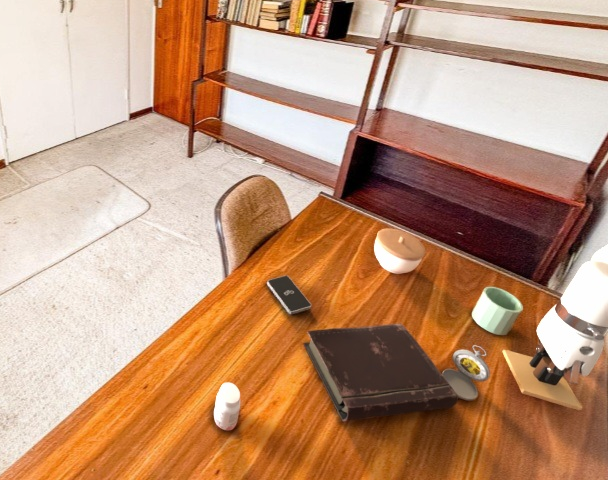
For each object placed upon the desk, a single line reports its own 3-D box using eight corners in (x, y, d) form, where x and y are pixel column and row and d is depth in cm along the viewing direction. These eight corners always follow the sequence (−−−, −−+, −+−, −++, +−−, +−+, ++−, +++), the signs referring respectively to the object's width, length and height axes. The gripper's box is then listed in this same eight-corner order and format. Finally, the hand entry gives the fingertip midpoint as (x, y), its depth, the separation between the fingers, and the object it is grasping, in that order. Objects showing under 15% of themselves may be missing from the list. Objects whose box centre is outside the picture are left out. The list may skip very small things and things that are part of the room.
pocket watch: (445, 395, 87) (462, 365, 82) (434, 360, 94) (450, 331, 90) (489, 409, 84) (509, 380, 80) (475, 373, 91) (492, 344, 87)
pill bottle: (237, 408, 82) (242, 383, 79) (236, 434, 78) (242, 408, 74) (214, 402, 83) (218, 377, 80) (212, 427, 79) (217, 402, 75)
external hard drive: (286, 280, 114) (287, 274, 113) (311, 311, 105) (312, 306, 104) (265, 285, 112) (266, 280, 111) (289, 318, 103) (291, 312, 102)
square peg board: (554, 366, 91) (566, 349, 88) (580, 410, 82) (594, 393, 79) (502, 351, 93) (512, 334, 91) (521, 393, 85) (533, 375, 82)
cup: (501, 314, 106) (514, 291, 103) (514, 339, 100) (529, 316, 96) (467, 305, 109) (479, 283, 105) (477, 329, 102) (491, 306, 98)
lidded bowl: (366, 268, 120) (376, 239, 115) (372, 244, 129) (382, 217, 125) (414, 288, 113) (426, 259, 109) (416, 261, 123) (428, 234, 118)
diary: (453, 412, 83) (461, 397, 81) (343, 426, 80) (350, 411, 78) (393, 332, 100) (399, 318, 98) (301, 341, 97) (305, 327, 95)
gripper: (635, 360, 71) (585, 419, 79) (581, 291, 85) (543, 347, 93) (582, 346, 73) (539, 405, 81) (538, 281, 87) (505, 337, 95)
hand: (542, 374), depth 87 cm, fingers closed on square peg board, 2 cm apart
